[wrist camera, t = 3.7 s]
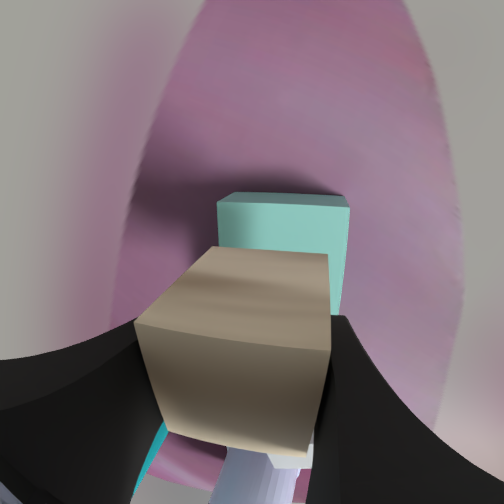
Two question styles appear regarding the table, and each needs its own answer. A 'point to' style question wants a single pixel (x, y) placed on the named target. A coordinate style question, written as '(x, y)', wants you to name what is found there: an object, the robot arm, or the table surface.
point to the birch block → (242, 348)
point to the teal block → (289, 227)
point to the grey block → (293, 459)
